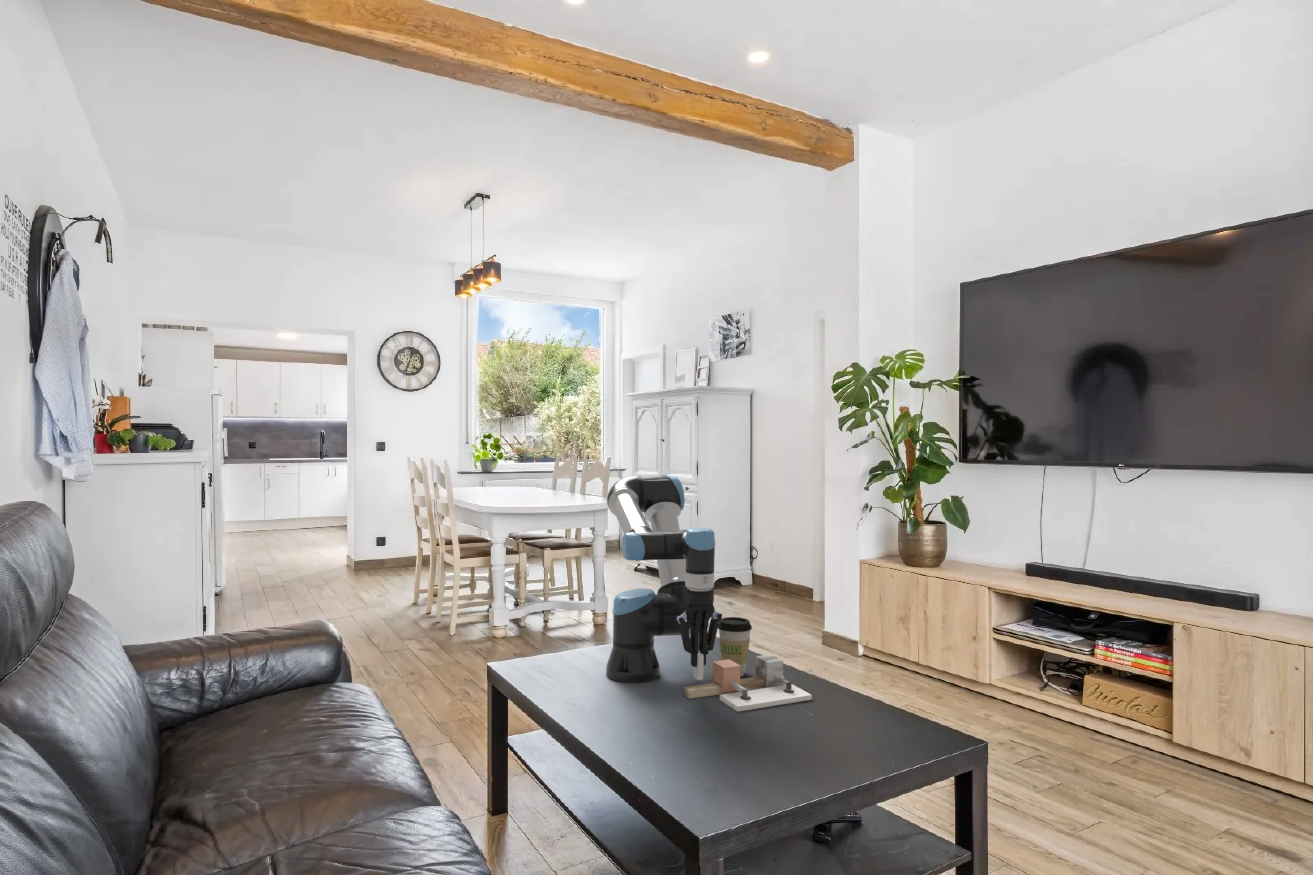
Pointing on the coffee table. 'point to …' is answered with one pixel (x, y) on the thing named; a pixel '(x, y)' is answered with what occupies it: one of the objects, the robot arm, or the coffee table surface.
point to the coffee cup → (735, 640)
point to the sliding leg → (728, 676)
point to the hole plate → (765, 697)
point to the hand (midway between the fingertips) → (698, 678)
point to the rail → (766, 676)
